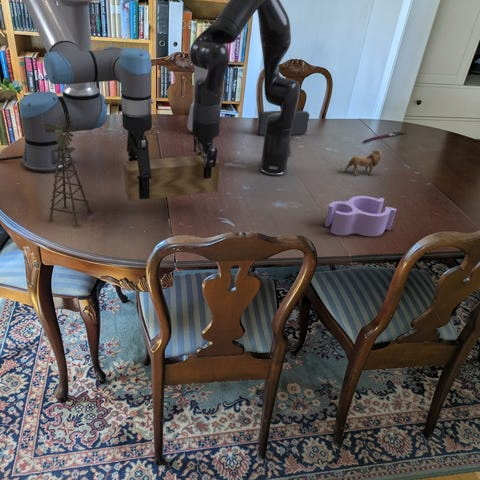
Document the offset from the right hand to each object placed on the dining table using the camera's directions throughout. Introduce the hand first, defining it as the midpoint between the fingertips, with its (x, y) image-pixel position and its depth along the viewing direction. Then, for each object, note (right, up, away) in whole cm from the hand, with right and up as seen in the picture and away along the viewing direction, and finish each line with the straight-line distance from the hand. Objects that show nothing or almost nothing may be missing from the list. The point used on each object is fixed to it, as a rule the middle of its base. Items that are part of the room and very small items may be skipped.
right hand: (203, 172), depth 138 cm
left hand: (-18, -5, -6) cm, 19 cm away
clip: (+47, -16, +5) cm, 49 cm away
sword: (+77, +27, +76) cm, 112 cm away
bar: (-9, -6, -1) cm, 11 cm away
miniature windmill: (-37, -13, -6) cm, 40 cm away
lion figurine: (+57, +6, +40) cm, 70 cm away
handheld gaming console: (+29, +27, +68) cm, 78 cm away
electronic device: (-5, +27, +62) cm, 68 cm away
